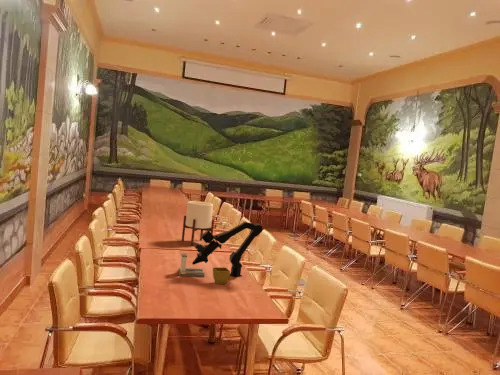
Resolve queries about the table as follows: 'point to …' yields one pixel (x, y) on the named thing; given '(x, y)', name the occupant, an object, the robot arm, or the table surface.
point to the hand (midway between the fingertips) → (192, 264)
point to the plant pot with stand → (198, 218)
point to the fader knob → (183, 261)
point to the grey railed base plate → (191, 272)
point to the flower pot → (221, 275)
